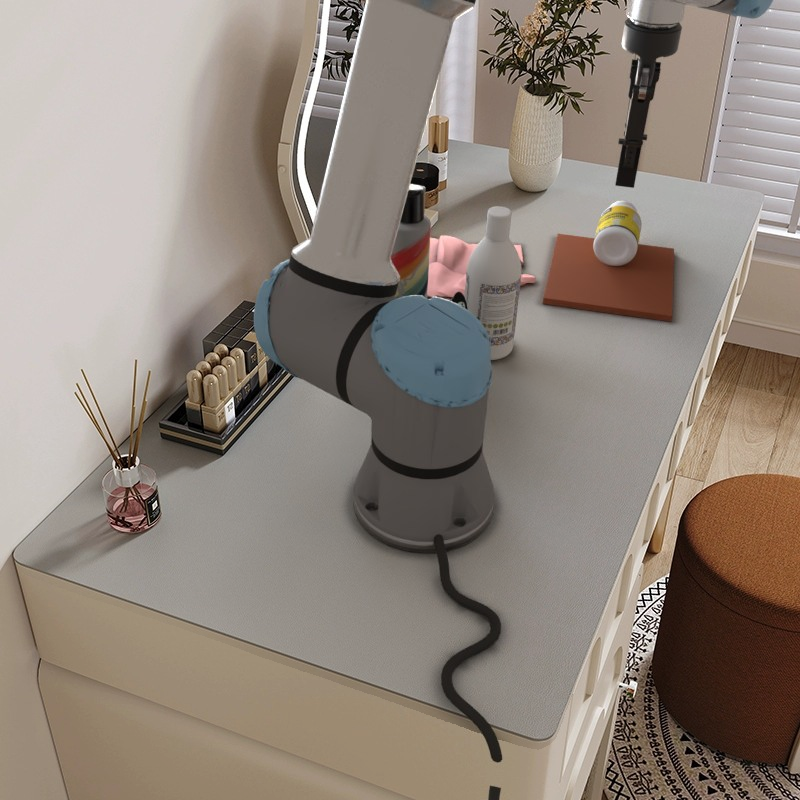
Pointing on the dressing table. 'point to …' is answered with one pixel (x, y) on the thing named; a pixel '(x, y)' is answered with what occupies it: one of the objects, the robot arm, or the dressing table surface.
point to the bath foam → (495, 282)
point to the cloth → (454, 266)
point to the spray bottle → (413, 245)
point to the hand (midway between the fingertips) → (624, 184)
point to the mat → (611, 280)
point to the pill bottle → (618, 234)
